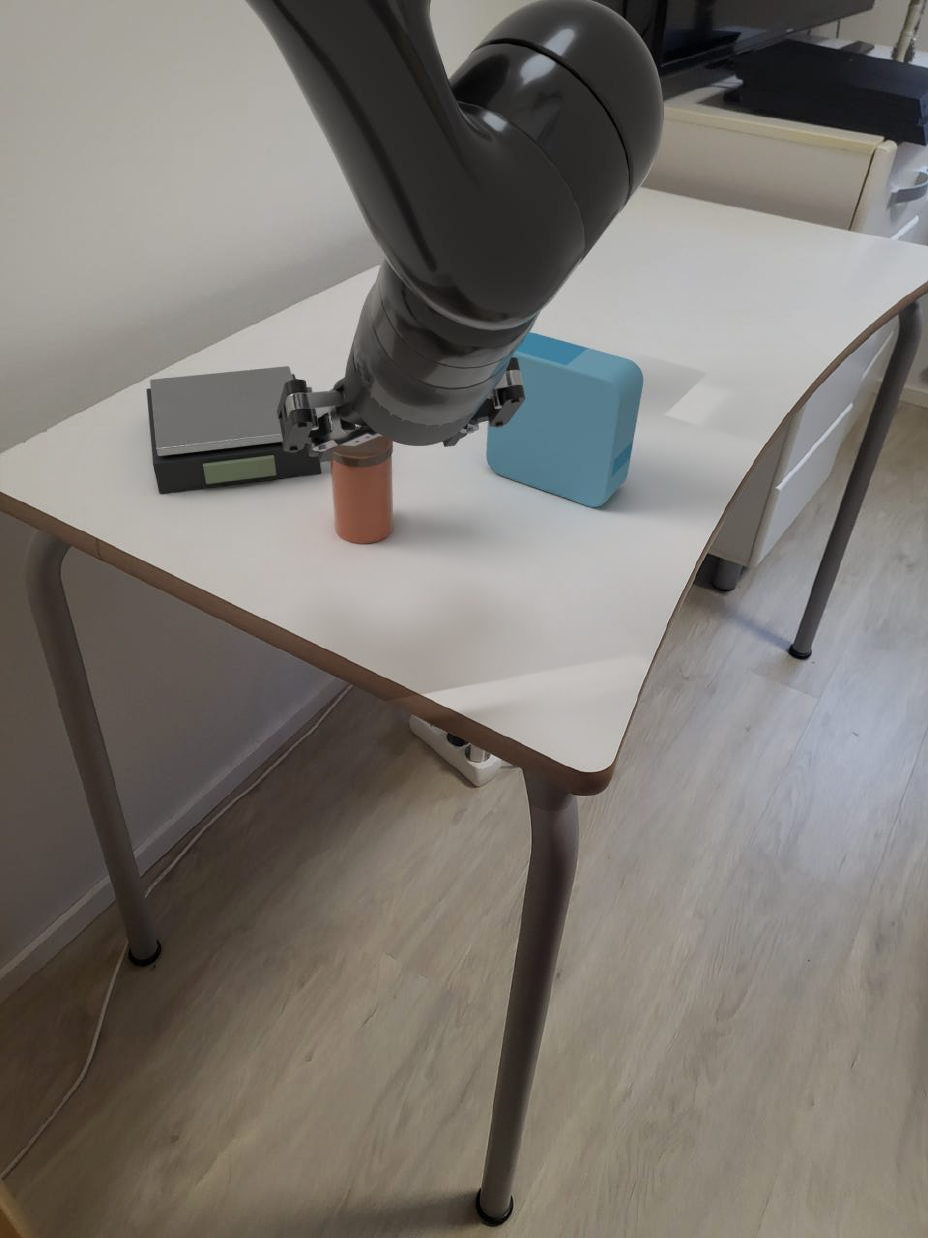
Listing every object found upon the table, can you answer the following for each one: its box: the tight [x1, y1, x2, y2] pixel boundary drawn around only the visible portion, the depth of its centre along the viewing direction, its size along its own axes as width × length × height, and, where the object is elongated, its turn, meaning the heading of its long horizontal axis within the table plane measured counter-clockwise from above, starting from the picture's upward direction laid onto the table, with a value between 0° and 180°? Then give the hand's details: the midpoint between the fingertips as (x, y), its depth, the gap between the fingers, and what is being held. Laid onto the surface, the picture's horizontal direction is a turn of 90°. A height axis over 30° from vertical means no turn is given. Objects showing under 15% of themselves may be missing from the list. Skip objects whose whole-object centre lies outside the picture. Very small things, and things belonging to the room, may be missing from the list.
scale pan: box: [149, 365, 293, 456], centre depth 85 cm, size 13×13×1 cm
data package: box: [485, 331, 644, 508], centre depth 80 cm, size 12×4×12 cm, turn 59°
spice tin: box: [329, 425, 394, 545], centre depth 75 cm, size 5×5×8 cm
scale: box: [146, 373, 322, 495], centre depth 86 cm, size 14×14×3 cm
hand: (384, 439), depth 63 cm, fingers open, 8 cm apart
